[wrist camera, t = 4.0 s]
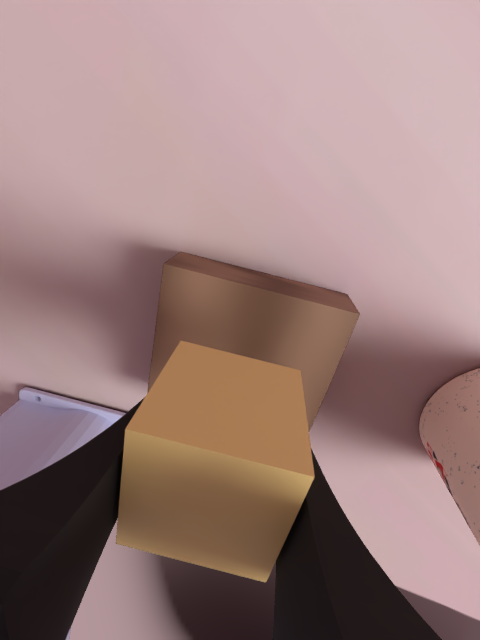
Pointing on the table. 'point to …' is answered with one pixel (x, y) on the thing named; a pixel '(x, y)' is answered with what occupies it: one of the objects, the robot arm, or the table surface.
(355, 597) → the robot arm
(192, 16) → the table surface
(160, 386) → the ochre block
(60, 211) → the table surface
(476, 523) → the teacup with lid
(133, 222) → the table surface
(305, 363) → the walnut base
